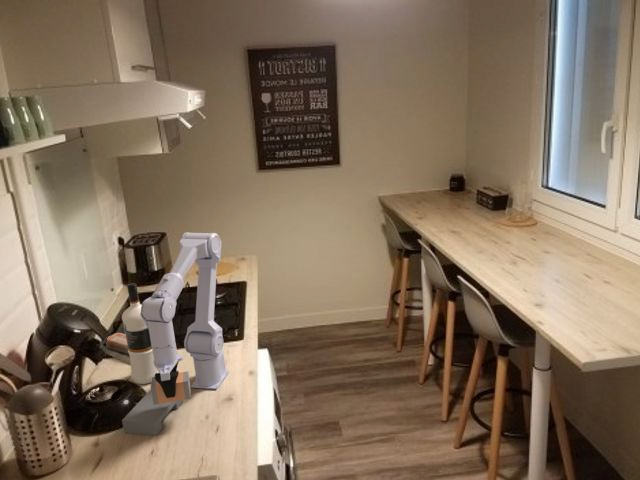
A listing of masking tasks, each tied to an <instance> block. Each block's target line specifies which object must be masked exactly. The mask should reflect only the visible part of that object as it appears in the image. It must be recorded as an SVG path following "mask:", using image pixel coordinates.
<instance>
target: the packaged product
mask: <svg viewBox="0 0 640 480" xmlns="http://www.w3.org/2000/svg"><path fill="white" fill-rule="evenodd" d="M107 337H108V338H107ZM107 337H106V338H107V342H106V352H107V354H108V355H107V356H109V355H110V356H109V357H111V356H112V358H114V359H116V360H119V361H122V362H125V363H128V364H131V361H130V356H129V353H128V345H127V340H126V334H125V333H122V332H114V333H113V334H111V335H109V336H107Z"/></svg>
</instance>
